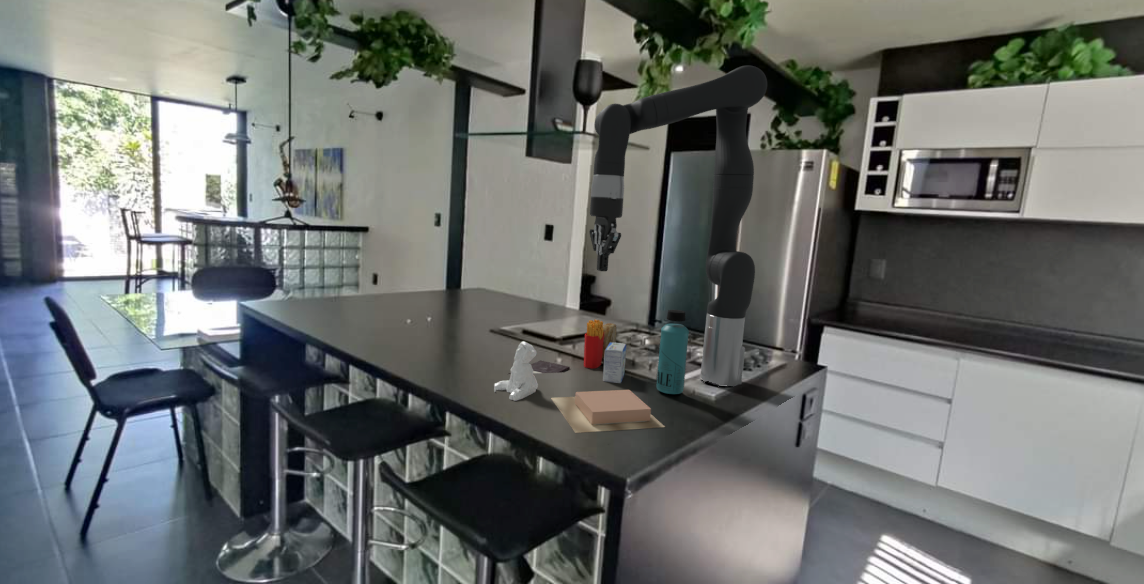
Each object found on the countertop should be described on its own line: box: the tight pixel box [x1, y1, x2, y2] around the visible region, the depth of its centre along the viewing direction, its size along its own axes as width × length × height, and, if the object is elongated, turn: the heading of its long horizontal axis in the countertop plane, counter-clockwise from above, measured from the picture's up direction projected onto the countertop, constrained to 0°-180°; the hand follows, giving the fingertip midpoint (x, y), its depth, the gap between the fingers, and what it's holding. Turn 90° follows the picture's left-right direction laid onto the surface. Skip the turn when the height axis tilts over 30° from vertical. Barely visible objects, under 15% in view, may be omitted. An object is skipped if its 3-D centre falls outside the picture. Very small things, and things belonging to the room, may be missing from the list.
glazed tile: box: [574, 389, 652, 425], centre depth 106 cm, size 12×3×11 cm
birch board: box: [550, 396, 666, 434], centre depth 107 cm, size 18×18×1 cm
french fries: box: [583, 318, 604, 370], centre depth 141 cm, size 8×4×12 cm, turn 159°
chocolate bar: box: [508, 359, 570, 375], centre depth 132 cm, size 9×1×18 cm
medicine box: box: [602, 342, 627, 384], centre depth 129 cm, size 8×4×9 cm, turn 168°
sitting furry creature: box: [493, 340, 539, 402], centre depth 115 cm, size 10×9×12 cm
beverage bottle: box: [655, 309, 690, 395], centre depth 120 cm, size 6×7×20 cm
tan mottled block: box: [602, 322, 617, 359], centre depth 149 cm, size 10×4×10 cm, turn 162°
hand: (602, 270), depth 125 cm, fingers closed
